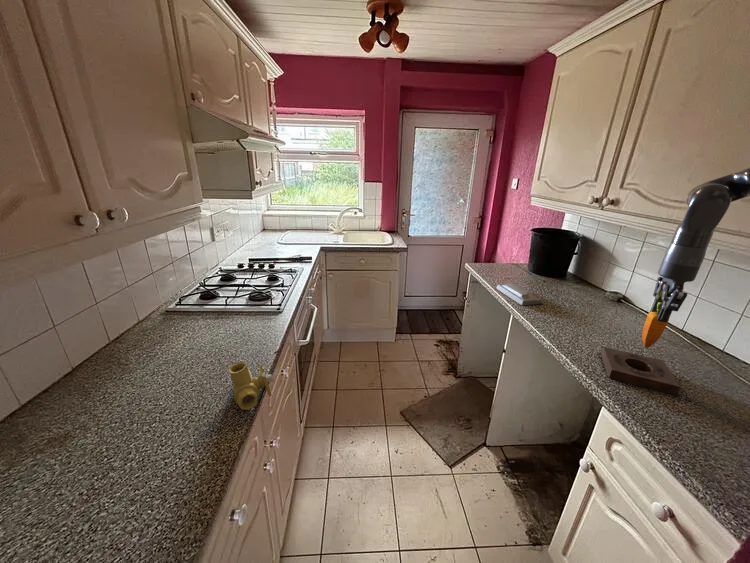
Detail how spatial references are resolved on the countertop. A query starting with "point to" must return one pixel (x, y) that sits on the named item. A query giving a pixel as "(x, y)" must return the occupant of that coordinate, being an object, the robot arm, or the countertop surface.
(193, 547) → the countertop surface
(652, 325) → the carrot
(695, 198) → the robot arm
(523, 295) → the soap mold
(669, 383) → the socket board
